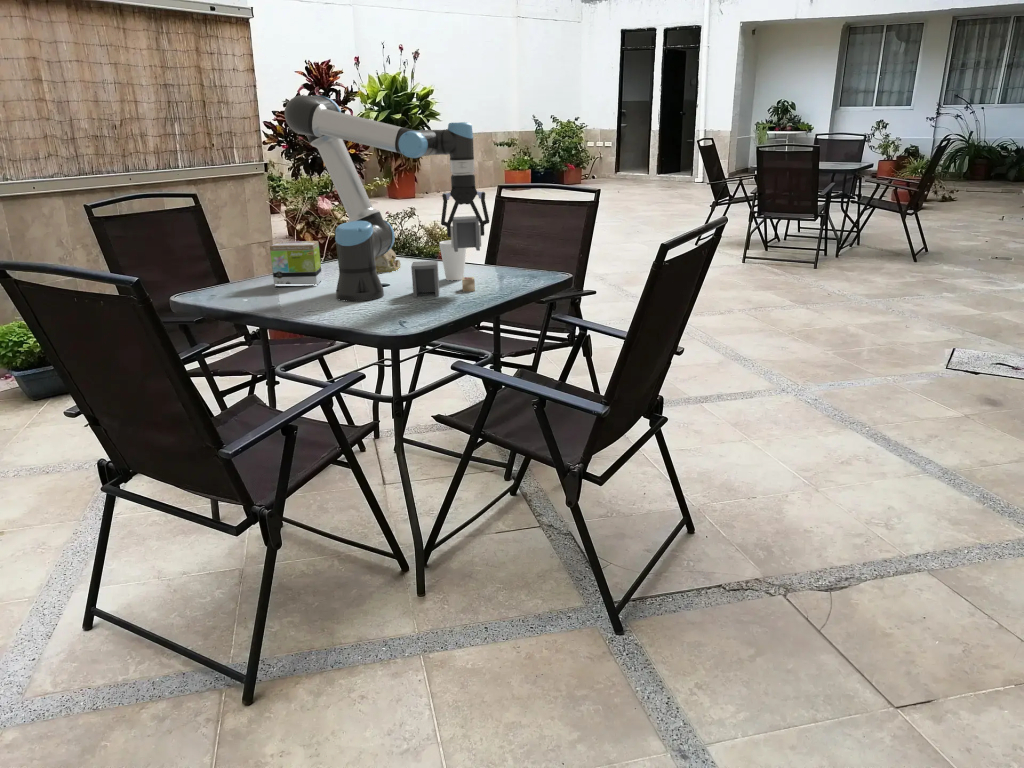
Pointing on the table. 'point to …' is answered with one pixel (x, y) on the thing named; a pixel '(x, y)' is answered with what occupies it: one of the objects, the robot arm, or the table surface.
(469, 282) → the letter cube
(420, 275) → the near cover
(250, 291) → the table surface
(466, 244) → the far cover
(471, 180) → the robot arm
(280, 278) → the tea box
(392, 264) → the ceramic model
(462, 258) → the foam cup
